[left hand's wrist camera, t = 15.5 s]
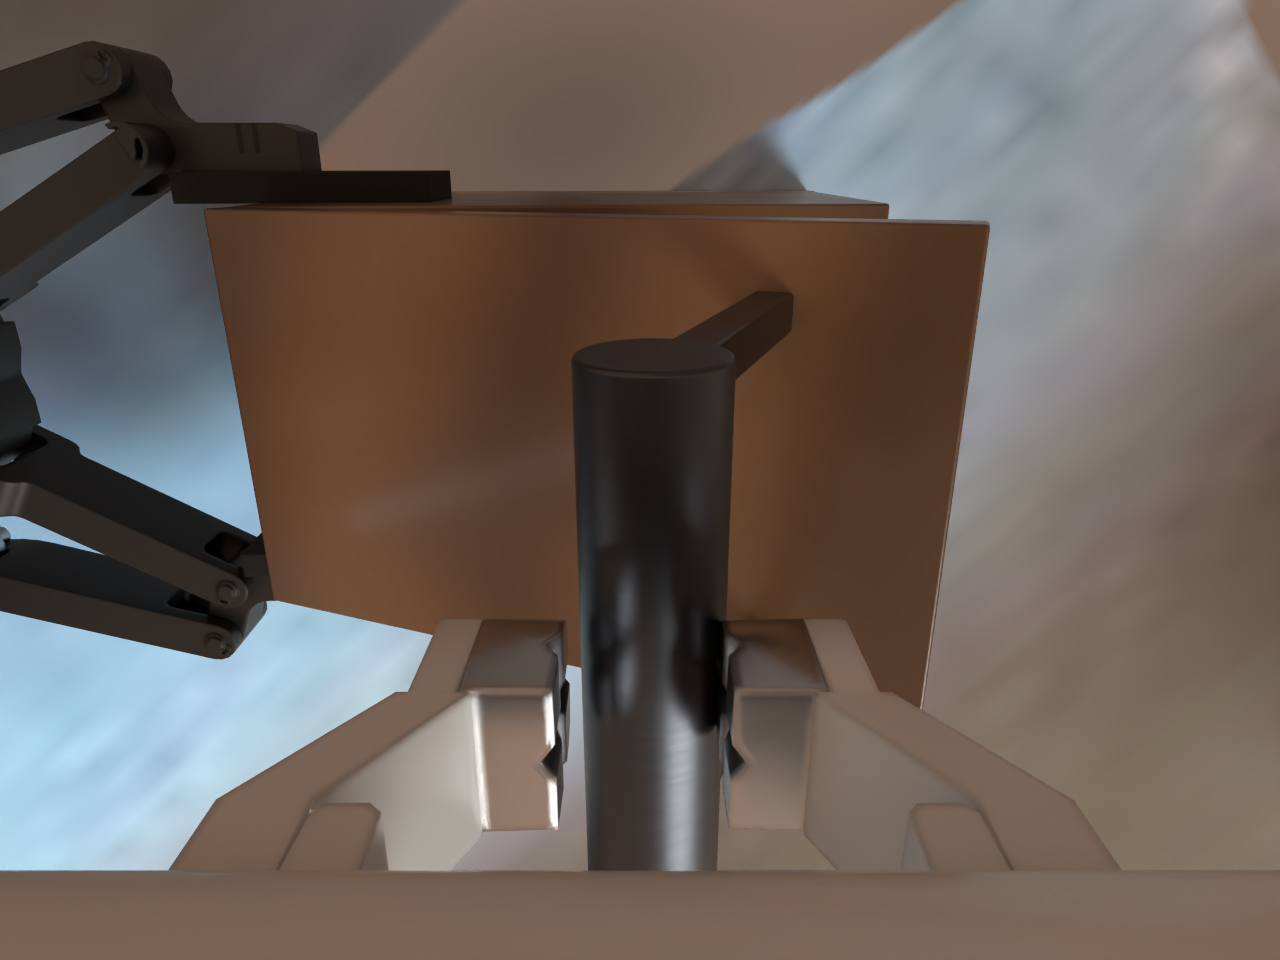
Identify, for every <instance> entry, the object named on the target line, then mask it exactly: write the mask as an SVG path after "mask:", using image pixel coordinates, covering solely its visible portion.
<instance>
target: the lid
mask: <svg viewBox="0 0 1280 960" xmlns="http://www.w3.org/2000/svg"><path fill="white" fill-rule="evenodd" d="M204 214H205V220H206V225H207V231H208V236H209V242H210V247H211V253H212V258H213V264H214V270H215V275H216V281H217V286H218V292H219V297H220V303H221V308H222V314H223V319H224V325H225V331H226V336H227V342H228V347H229V353H230V358H231V364H232V369H233V375H234V380H235V386H236V392H237V397H238V403H239V408H240V414H241V419H242V425H243V430H244V436H245V441H246V447H247V453H248V458H249V464H250V469H251V475H252V480H253V486H254V491H255V497H256V502H257V508H258V514H259V519H260V525H261V530H262V536H263V541H264V547H265V552H266V558H267V563H268V569H269V575H270V580H271V586H272V591H273V597H274V600H277V601H281V602H286V603H290V604H295V605H299V606H304V607H309V608H313V609H318V610H322V611H327V612H331V613H336V614H340V615H345V616H349V617H354V618H358V619H363V620H367V621H372V622H377V623H381V624H386V625H390V626H395V627H399V628H404V629H408V630H413V631H417V632H422V633H426V634H431V635H434V632H435V630H436V628H437V626H438V623H439V622H440V621H441V620H443V619H446V618H483V619H484V620H485V619H487V618H488V619H541V620H566V625H567V636H568V659H567V665H571V666H576V667H581V671H582V701H583V731H584V761H585V791H586V821H587V851H588V871H592V870H593V871H596V870H597V871H602V870H603V871H717V851H718V825H719V799H720V779H721V777H722V775H723V767H724V765H723V764H722V763H721V762H720V761H719V754H718V746H717V734H716V716H717V690H718V688H719V685H720V682H721V672H720V666H719V659H718V658H719V636H720V621H723V620H764V619H816V618H839V617H841V618H842V619H844V620H846V622H847V624H848V626H849V628H850V630H851V632H852V634H853V637H854V639H855V641H856V643H857V645H858V647H859V649H860V652H861V654H862V656H863V658H864V660H865V662H866V664H867V667H868V669H869V671H870V673H871V675H872V677H873V679H874V682H875V684H876V686H877V688H878V690H879V692H892V693H894V694H896V695H897V696H899V697H901V698H902V699H904V700H906V701H907V702H909V703H911V704H912V705H914V706H916V707H917V708H919V709H921V710H923V704H924V697H925V690H926V683H927V675H928V668H929V661H930V654H931V647H932V640H933V632H934V625H935V618H936V611H937V604H938V597H939V590H940V582H941V575H942V568H943V561H944V554H945V547H946V539H947V532H948V525H949V518H950V511H951V504H952V496H953V489H954V482H955V475H956V468H957V461H958V454H959V446H960V439H961V432H962V425H963V418H964V411H965V403H966V396H967V389H968V382H969V375H970V368H971V361H972V353H973V346H974V339H975V332H976V325H977V318H978V310H979V303H980V296H981V289H982V282H983V275H984V267H985V260H986V253H987V246H988V239H989V232H990V225H989V222H987V221H959V220H906V219H853V218H800V217H747V216H694V215H641V214H587V213H534V212H481V211H428V210H375V209H322V208H269V207H226V208H209V209H205V210H204Z"/></svg>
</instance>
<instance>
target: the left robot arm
mask: <svg viewBox="0 0 1280 960" xmlns="http://www.w3.org/2000/svg"><path fill="white" fill-rule="evenodd" d="M567 659H568V636H567V625H566V620H541V619H488V618H487V619H485V620H484V619H483V618H446V619H443V620H441V621H440V622H439V623H438V626H437V628H436V630H435V632H434V635H433V637H432V639H431V641H430V644H429V646H428V648H427V650H426V653H425V655H424V657H423V659H422V661H421V664H420V666H419V668H418V670H417V673H416V675H415V677H414V679H413V682H412V684H411V686H410V688H409V691H408V692H395V693H393V694H392V695H390V696H388V697H387V698H385V699H383V700H382V701H380V702H378V703H377V704H375V705H373V706H372V707H370V708H368V709H367V710H365V711H363V712H362V713H360V714H358V715H357V716H355V717H353V718H352V719H350V720H348V721H347V722H345V723H343V724H342V725H340V726H338V727H337V728H335V729H333V730H332V731H330V732H328V733H327V734H325V735H323V736H322V737H320V738H318V739H317V740H315V741H313V742H311V743H310V744H308V745H306V746H305V747H303V748H301V749H300V750H298V751H296V752H295V753H293V754H291V755H290V756H288V757H286V758H285V759H283V760H281V761H280V762H278V763H276V764H275V765H273V766H271V767H270V768H268V769H266V770H265V771H263V772H261V773H260V774H258V775H256V776H255V777H253V778H251V779H250V780H248V781H246V782H245V783H243V784H241V785H240V786H238V787H236V788H235V789H233V790H231V791H230V792H228V793H226V794H225V795H223V796H221V797H220V798H218V799H216V801H215V802H214V803H213V805H212V806H211V808H210V809H209V811H208V812H207V814H206V815H205V817H204V818H203V820H202V821H201V823H200V824H199V826H198V827H197V829H196V830H195V832H194V833H193V835H192V836H191V838H190V839H189V840H188V842H187V843H186V845H185V846H184V848H183V849H182V851H181V852H180V854H179V855H178V857H177V858H176V860H175V861H174V863H173V864H172V866H171V867H170V869H169V870H0V960H1280V870H1121V868H1120V867H1119V865H1118V864H1117V863H1116V861H1115V860H1114V858H1113V857H1112V855H1111V854H1110V852H1109V851H1108V849H1107V848H1106V846H1105V845H1104V844H1103V842H1102V841H1101V839H1100V838H1099V836H1098V835H1097V833H1096V832H1095V830H1094V829H1093V827H1092V826H1091V825H1090V823H1089V822H1088V820H1087V819H1086V817H1085V816H1084V814H1083V813H1082V811H1081V810H1080V808H1079V807H1078V805H1077V804H1076V803H1075V801H1074V800H1072V799H1071V798H1069V797H1067V796H1065V795H1064V794H1062V793H1060V792H1059V791H1057V790H1055V789H1054V788H1052V787H1050V786H1049V785H1047V784H1045V783H1044V782H1042V781H1040V780H1039V779H1037V778H1035V777H1034V776H1032V775H1030V774H1028V773H1027V772H1025V771H1023V770H1022V769H1020V768H1018V767H1017V766H1015V765H1013V764H1012V763H1010V762H1008V761H1007V760H1005V759H1003V758H1002V757H1000V756H998V755H997V754H995V753H993V752H991V751H990V750H988V749H986V748H985V747H983V746H981V745H980V744H978V743H976V742H975V741H973V740H971V739H970V738H968V737H966V736H965V735H963V734H961V733H960V732H958V731H956V730H954V729H953V728H951V727H949V726H948V725H946V724H944V723H943V722H941V721H939V720H938V719H936V718H934V717H933V716H931V715H929V714H928V713H926V712H924V711H923V710H921V709H919V708H917V707H916V706H914V705H912V704H911V703H909V702H907V701H906V700H904V699H902V698H901V697H899V696H897V695H896V694H894V693H892V692H879V690H878V688H877V686H876V684H875V682H874V679H873V677H872V675H871V673H870V671H869V669H868V667H867V664H866V662H865V660H864V658H863V656H862V654H861V652H860V649H859V647H858V645H857V643H856V641H855V639H854V637H853V634H852V632H851V630H850V628H849V626H848V624H847V622H846V620H844V619H842V618H841V617H839V618H816V619H764V620H723V621H720V636H719V658H718V659H719V666H720V672H721V682H720V685H719V688H718V690H717V716H716V734H717V746H718V754H719V761H720V762H721V763H722V764H723V765H724V767H723V792H724V799H725V806H726V813H727V820H728V827H729V829H732V830H768V831H805V832H804V835H805V836H806V837H807V838H808V839H809V841H810V842H811V843H812V844H813V845H814V846H815V847H816V848H817V849H818V850H819V851H820V852H821V854H822V855H823V856H824V857H825V858H826V859H827V860H828V861H829V862H830V863H831V864H832V865H833V866H834V868H835V869H836V870H774V871H603V870H602V871H597V870H596V871H593V870H592V871H588V870H587V871H586V870H583V871H582V870H581V871H580V870H577V871H576V870H451V869H452V868H453V867H454V866H455V865H456V864H457V863H458V862H459V861H460V860H461V858H462V857H463V856H464V855H465V854H466V853H467V852H468V851H469V850H470V849H471V848H472V846H473V845H474V844H475V843H476V842H477V841H478V840H479V839H480V838H481V837H482V836H483V835H482V831H517V830H552V829H558V826H559V818H560V811H561V803H562V795H563V788H564V786H563V764H564V763H565V762H566V761H567V755H568V745H569V728H570V684H569V682H568V681H567V680H566V679H565V674H566V666H567Z"/></svg>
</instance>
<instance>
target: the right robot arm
mask: <svg viewBox="0 0 1280 960" xmlns="http://www.w3.org/2000/svg"><path fill="white" fill-rule="evenodd" d="M172 82H173V81H172V77H171V73H170V70H169V69H168V67H167V66H166V64H165V63H164V62H163V61H162V60H160V59H159V58H158V57H157V56H154V55H151V54H148V53H144V52H139V51H135V50H130V49H126V48H122V47H117V46H113V45H108V44H104V43H100V42H95V41H90V42H83V43H80V44H77V45H74V46H71V47H68V48H65V49H62V50H59V51H56V52H54V53H51V54H48V55H45V56H42V57H39V58H36V59H33V60H30V61H27V62H24V63H21V64H18V65H15V66H12V67H9V68H7V69H4V70H1V71H0V155H1V154H4V153H7V152H10V151H13V150H16V149H19V148H22V147H25V146H28V145H31V144H34V143H37V142H40V141H43V140H46V139H49V138H52V137H55V136H58V135H61V134H64V133H67V132H70V131H73V130H76V129H79V128H82V127H85V126H88V125H91V124H94V123H97V122H100V121H103V120H106V119H109V120H110V123H107V124H105V125H106V126H107V128H108V129H115V131H114V132H113V133H112V134H110V135H109V136H107V137H106V138H104V139H103V140H102V141H100V142H99V143H97V144H96V145H95V146H93V147H92V148H90V149H89V150H87V151H86V152H85V153H83V154H82V155H80V156H79V157H77V158H76V159H75V160H73V161H72V162H70V163H69V164H68V165H66V166H65V167H63V168H62V169H60V170H59V171H58V172H56V173H55V174H53V175H52V176H50V177H49V178H48V179H46V180H45V181H43V182H42V183H41V184H39V185H38V186H36V187H35V188H33V189H32V190H31V191H29V192H28V193H26V194H25V195H23V196H22V197H21V198H19V199H18V200H16V201H15V202H14V203H12V204H11V205H9V206H8V207H6V208H5V209H4V210H2V211H1V212H0V311H2V310H3V309H5V308H6V307H7V306H9V305H10V304H12V303H13V302H15V301H16V300H18V299H19V298H21V297H22V296H24V295H25V294H27V293H28V292H30V291H31V290H33V289H34V288H35V287H36V286H37V285H38V283H37V281H38V280H40V279H41V278H42V277H44V276H45V275H47V274H48V273H50V272H51V271H53V270H54V269H56V268H57V267H59V266H60V265H62V264H63V263H65V262H66V261H67V260H69V259H70V258H72V257H73V256H75V255H76V254H78V253H79V252H81V251H82V250H84V249H85V248H87V247H88V246H90V245H91V244H93V243H94V242H95V241H97V240H98V239H100V238H101V237H103V236H104V235H106V234H107V233H109V232H110V231H112V230H113V229H115V228H116V227H118V226H119V225H121V224H122V223H123V222H125V221H126V220H128V219H129V218H131V217H132V216H134V215H135V214H137V213H138V212H140V211H141V210H143V209H144V208H146V207H147V206H149V205H150V204H151V203H153V202H154V201H156V200H157V199H159V198H160V197H162V196H163V195H165V194H166V193H168V192H169V191H172V196H173V202H174V204H215V203H389V202H435V201H440V200H445V199H450V198H452V194H451V181H450V171H322V170H321V162H320V155H319V147H318V139H317V133H315V132H313V131H310V130H308V129H305V128H303V127H300V126H298V125H291V124H282V123H198V122H195V121H194V120H192V119H191V118H189V117H188V116H187V115H186V114H185V113H184V112H183V111H182V109H181V107H180V106H179V104H178V103H177V101H176V99H175V97H174V95H173V93H172V91H171V90H172ZM39 423H41V419H40V416H39V412H38V408H37V404H36V401H35V398H34V396H33V394H32V392H31V390H30V389H29V387H28V385H27V383H26V381H25V380H24V378H23V376H22V373H21V345H20V341H19V337H18V333H17V330H16V326H15V322H14V321H4V320H3V318H2V316H1V315H0V517H4V516H18V517H21V518H24V519H26V520H28V521H31V522H33V523H35V524H37V525H40V526H42V527H44V528H46V529H48V530H51V531H53V532H55V533H57V534H60V535H62V536H64V537H66V538H69V539H71V540H73V541H75V542H78V543H80V544H82V545H84V546H87V547H89V548H91V549H93V550H96V551H98V552H100V553H102V554H98V553H94V552H90V551H85V550H81V549H77V548H73V547H68V546H64V545H60V544H56V543H51V542H45V541H40V540H29V539H11V536H10V533H9V531H8V530H7V529H5V528H4V527H1V526H0V611H3V612H7V613H12V614H16V615H21V616H25V617H29V618H34V619H38V620H43V621H47V622H52V623H56V624H61V625H65V626H70V627H74V628H79V629H83V630H88V631H92V632H96V633H101V634H105V635H110V636H114V637H119V638H123V639H128V640H132V641H137V642H141V643H146V644H150V645H154V646H159V647H163V648H168V649H172V650H177V651H181V652H186V653H190V654H195V655H199V656H204V657H208V658H213V659H225V658H228V657H230V656H231V655H232V654H233V653H234V652H235V651H236V650H237V648H238V647H239V646H240V645H241V643H242V642H243V641H244V640H245V638H246V637H247V636H248V635H249V633H250V632H251V631H252V630H253V628H254V627H255V626H256V625H257V623H258V622H259V621H260V620H261V618H262V617H263V616H264V615H265V613H266V610H267V602H266V601H277V600H274V597H273V591H272V586H271V580H270V575H269V569H268V563H267V558H266V552H265V547H264V541H263V536H262V533H261V534H260V535H259V536H258V537H256V536H254V535H251V534H249V533H247V532H245V531H243V530H241V529H239V528H236V527H234V526H232V525H230V524H228V523H226V522H223V521H221V520H219V519H217V518H215V517H213V516H211V515H208V514H206V513H204V512H202V511H200V510H198V509H196V508H193V507H191V506H189V505H187V504H185V503H183V502H181V501H178V500H176V499H174V498H172V497H170V496H168V495H166V494H163V493H161V492H159V491H157V490H155V489H153V488H150V487H148V486H146V485H144V484H142V483H140V482H138V481H135V480H133V479H131V478H129V477H127V476H125V475H123V474H120V473H118V472H116V471H114V470H112V469H110V468H108V467H105V466H103V465H101V464H99V463H97V462H95V461H93V460H90V459H88V458H86V457H84V456H83V455H81V454H80V450H79V447H78V445H77V444H75V443H74V442H72V441H70V440H68V439H66V438H64V437H62V436H60V435H57V434H55V433H53V432H51V431H49V430H47V429H45V428H42V427H40V426H38V425H37V424H39ZM12 460H14V461H12ZM11 461H12V462H11ZM103 554H105V555H103Z"/></svg>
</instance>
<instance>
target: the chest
mask: <svg viewBox="0 0 1280 960" xmlns="http://www.w3.org/2000/svg"><path fill="white" fill-rule="evenodd" d="M451 194H452V198H450V199H445V200H440V201H435V202H389V203H260V204H251V205H242V206H233V207H269V208H322V209H375V210H428V211H481V212H534V213H587V214H641V215H694V216H747V217H800V218H853V219H888V214H889V204H886V203H880V202H874V201H867V200H861V199H855V198H848V197H842V196H836V195H829V194H823V193H817V192H814V191H808V190H757V191H514V192H451Z"/></svg>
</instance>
